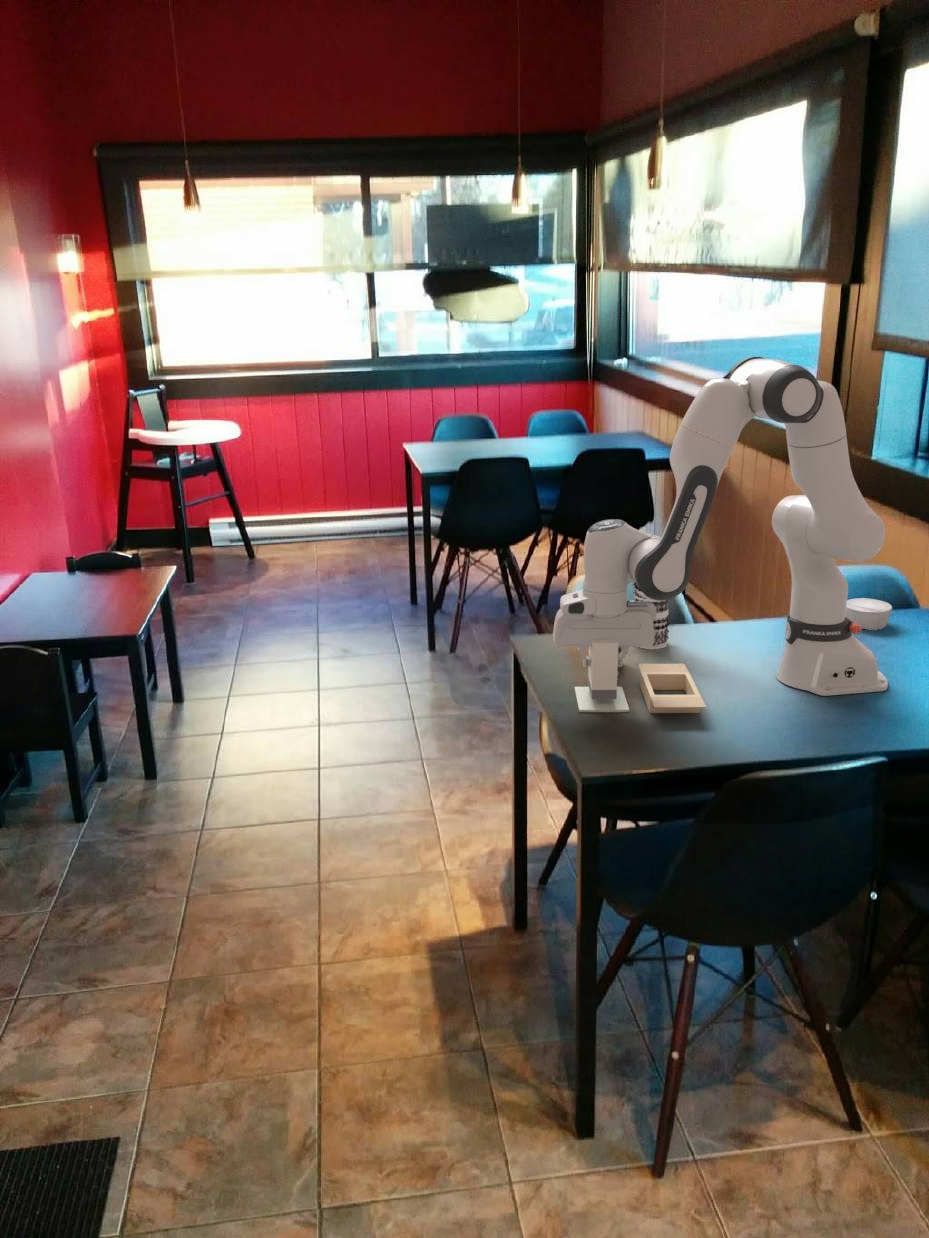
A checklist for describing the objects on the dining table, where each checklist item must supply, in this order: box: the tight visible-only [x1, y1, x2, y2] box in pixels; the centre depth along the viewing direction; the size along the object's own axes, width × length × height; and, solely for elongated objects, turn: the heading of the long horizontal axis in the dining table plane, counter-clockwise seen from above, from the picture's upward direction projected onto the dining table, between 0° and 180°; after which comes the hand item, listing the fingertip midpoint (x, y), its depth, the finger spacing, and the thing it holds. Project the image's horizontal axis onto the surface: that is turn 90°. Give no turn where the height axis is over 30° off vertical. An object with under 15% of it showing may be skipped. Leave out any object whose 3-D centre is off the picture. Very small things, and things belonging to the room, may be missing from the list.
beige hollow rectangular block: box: [637, 663, 707, 714], centre depth 205 cm, size 10×23×4 cm, turn 179°
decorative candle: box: [632, 582, 671, 650], centre depth 233 cm, size 9×9×25 cm
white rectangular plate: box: [573, 686, 630, 713], centre depth 206 cm, size 10×12×1 cm
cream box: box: [587, 639, 618, 699], centre depth 203 cm, size 5×8×12 cm, turn 179°
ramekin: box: [845, 597, 893, 631], centre depth 247 cm, size 11×11×5 cm
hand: (602, 665), depth 203 cm, fingers closed on cream box, 5 cm apart
